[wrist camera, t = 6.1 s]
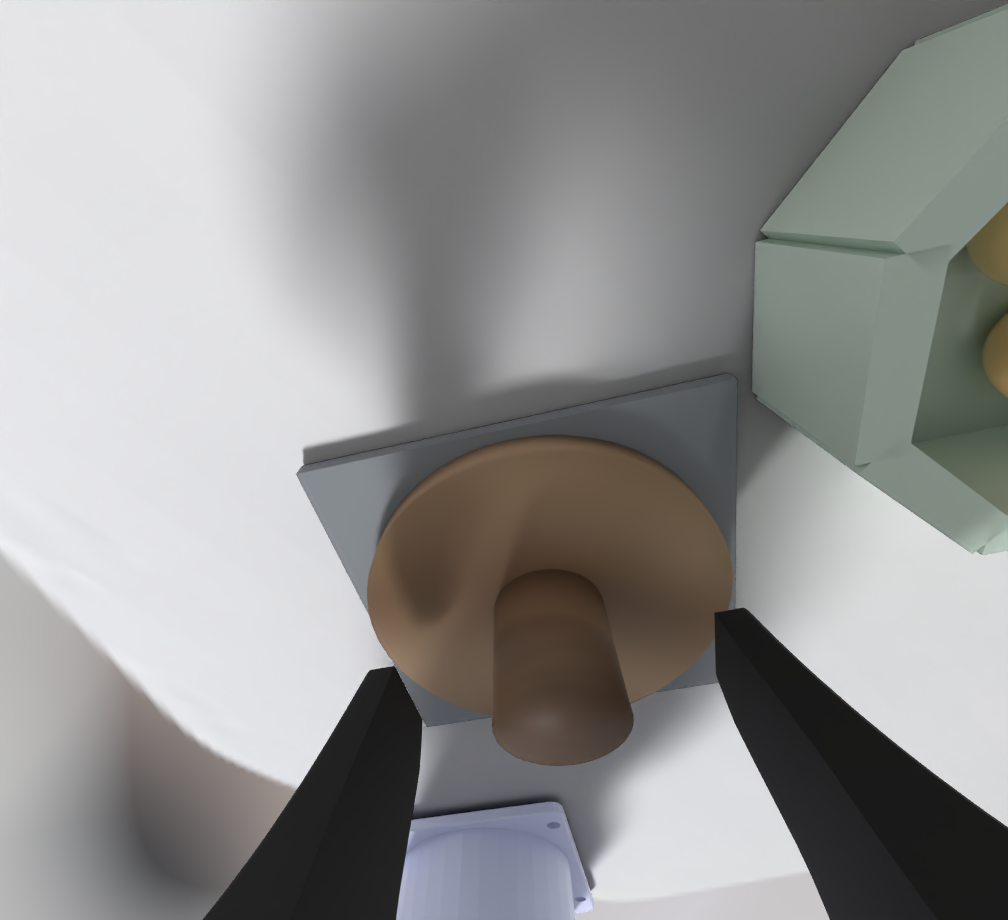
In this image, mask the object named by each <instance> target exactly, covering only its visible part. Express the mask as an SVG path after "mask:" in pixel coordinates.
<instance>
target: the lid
mask: <svg viewBox="0 0 1008 920" xmlns="http://www.w3.org/2000/svg"><path fill="white" fill-rule="evenodd" d="M732 586H733V571H732V561H731V557H730V553H729V550H728V547H727V543H726V541H725V539H724V537H723V535H722V533H721V531H720V529H719V527H718V525H717V523H716V522H715V520H714V519H713V517H712V516H711V515H710V513H709V512H708V510H707V509H706V507H705V506H704V504H703V503H702V502H701V500H700V499H699V498H698V496H697V495H696V494H695V492H694V491H693V490H692V488H691V487H689V486H688V485H687V484H686V483H685V482H684V481H683V480H682V479H681V478H680V477H679V476H678V475H677V474H676V473H674V472H673V471H671V470H670V469H668V468H667V467H666V466H664V465H663V464H661V463H660V462H658V461H657V460H655V459H653V458H651V457H649V456H647V455H645V454H643V453H641V452H639V451H637V450H634V449H631V448H628V447H625V446H622V445H619V444H616V443H613V442H609V441H604V440H599V439H594V438H589V437H581V436H568V435H545V436H530V437H524V438H517V439H511V440H506V441H502V442H499V443H495V444H492V445H488V446H485V447H481V448H479V449H476V450H474V451H472V452H469V453H467V454H464V455H462V456H460V457H457V458H456V459H454V460H452V461H450V462H449V463H447V464H445V465H444V466H442V467H440V468H438V469H437V470H435V471H434V472H433V473H431V474H430V475H429V476H428V477H426V478H425V479H424V480H422V481H421V482H420V483H419V484H417V485H416V486H415V487H414V488H413V489H412V491H411V492H410V493H409V494H408V495H407V496H406V497H405V498H404V499H403V500H402V501H401V503H400V504H399V505H398V507H397V508H396V510H395V511H394V512H393V514H392V515H391V517H390V518H389V520H388V522H387V525H386V527H385V529H384V531H383V533H382V535H381V537H380V540H379V543H378V546H377V548H376V551H375V554H374V557H373V561H372V564H371V567H370V571H369V575H368V584H367V602H368V611H369V615H370V619H371V623H372V626H373V629H374V631H375V633H376V635H377V638H378V640H379V642H380V643H381V645H382V647H383V648H384V650H385V651H386V653H387V654H388V656H389V657H390V658H391V659H392V660H393V662H394V663H395V664H396V665H397V666H398V667H399V669H400V670H402V671H403V672H404V673H405V674H406V675H407V676H408V677H409V678H411V679H412V680H413V681H414V682H416V683H417V684H418V685H420V686H421V687H423V688H424V689H426V690H427V691H429V692H431V693H432V694H434V695H436V696H438V697H440V698H442V699H443V700H446V701H448V702H450V703H453V704H455V705H457V706H460V707H462V708H466V709H469V710H472V711H475V712H478V713H482V714H487V715H491V716H492V729H493V734H494V737H495V738H496V740H497V742H498V743H499V744H500V746H501V747H502V748H503V749H505V750H506V751H507V752H509V753H510V754H512V755H513V756H515V757H517V758H520V759H522V760H525V761H528V762H531V763H536V764H541V765H551V766H565V765H575V764H580V763H585V762H589V761H592V760H595V759H598V758H600V757H602V756H605V755H607V754H608V753H610V752H612V751H613V750H615V749H616V748H618V747H619V746H620V745H621V744H622V743H623V742H624V741H625V740H626V739H627V737H628V736H629V734H630V732H631V730H632V727H633V713H632V709H631V705H630V703H633V702H635V701H638V700H640V699H642V698H644V697H646V696H648V695H650V694H652V693H654V692H656V691H657V690H659V689H661V688H662V687H664V686H666V685H667V684H669V683H670V682H672V681H673V680H674V679H676V678H677V677H678V676H680V675H681V674H682V673H684V672H685V671H686V670H687V669H688V668H689V667H690V666H691V665H692V664H693V663H695V662H696V661H697V660H698V659H699V658H700V656H701V655H702V654H703V653H704V652H705V650H706V649H707V648H708V647H709V646H710V644H711V643H712V641H713V640H714V638H715V619H714V613H715V612H721V611H727V610H728V608H729V604H730V600H731V597H732Z"/></svg>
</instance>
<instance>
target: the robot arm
mask: <svg viewBox="0 0 1008 920" xmlns="http://www.w3.org/2000/svg"><path fill="white" fill-rule="evenodd" d="M714 619H715V664H716V676H717V679H718V681H719V684H720V687H721V689H722V692H723V694H724V697H725V700H726V702H727V705H728V707H729V710H730V712H731V715H732V717H733V720H734V722H735V724H736V726H737V728H738V730H739V732H740V735H741V737H742V738H743V740H744V742H745V744H746V746H747V748H748V750H749V752H750V754H751V756H752V758H753V760H754V762H755V764H756V766H757V768H758V770H759V772H760V774H761V776H762V778H763V780H764V782H765V784H766V786H767V788H768V789H769V791H770V793H771V795H772V797H773V799H774V801H775V803H776V805H777V807H778V809H779V811H780V813H781V815H782V817H783V819H784V821H785V823H786V825H787V827H788V829H789V830H790V832H791V834H792V836H793V838H794V840H795V842H796V844H797V846H798V848H799V850H800V852H801V855H802V857H803V859H804V861H805V863H806V865H807V867H808V869H809V871H810V874H811V876H812V878H813V880H814V883H815V885H816V887H817V890H818V892H819V895H820V897H821V899H822V902H823V904H824V906H825V909H826V911H827V914H828V916H829V918H830V920H1008V827H1007V826H1005V825H1004V824H1002V823H1001V822H999V821H998V820H997V819H995V818H994V817H992V816H991V815H990V814H988V813H987V812H985V811H984V810H983V809H981V808H980V807H978V806H977V805H976V804H974V803H973V802H972V801H970V800H969V799H967V798H966V797H965V796H963V795H962V794H961V793H959V792H958V791H957V790H955V789H954V788H953V787H951V786H950V785H949V784H947V783H946V782H945V781H943V780H942V779H940V778H939V777H938V776H937V775H935V774H934V773H933V772H931V771H930V770H929V769H927V768H926V767H925V766H923V765H922V764H921V763H920V762H918V761H917V760H916V759H915V758H913V757H912V756H911V755H909V754H908V753H907V752H906V751H904V750H903V749H902V748H901V747H899V746H898V745H897V744H896V743H894V742H893V741H892V740H891V739H889V738H888V737H887V736H886V735H885V734H883V733H882V732H881V731H880V730H878V729H877V728H876V727H875V726H874V725H872V724H871V723H870V722H869V721H867V720H866V719H865V718H864V717H863V716H862V715H860V714H859V713H858V712H857V711H856V710H854V709H853V708H852V707H851V706H850V705H849V704H848V703H846V702H845V701H844V700H843V699H842V698H841V697H840V696H838V695H837V694H836V693H835V692H834V691H833V690H832V689H830V688H829V687H828V686H827V685H826V684H825V683H824V682H823V681H821V680H820V679H819V678H818V677H817V676H816V675H815V674H814V673H812V672H811V671H810V670H809V669H808V668H807V667H806V666H805V665H804V664H803V663H802V662H801V661H799V660H798V659H797V658H796V657H795V656H794V655H793V654H792V653H791V652H790V651H789V650H788V649H787V648H786V647H785V646H784V645H783V644H782V643H780V642H779V641H778V640H777V639H776V638H775V637H774V636H773V635H772V634H771V633H770V632H769V631H768V630H767V629H766V628H765V627H764V626H763V625H762V624H761V623H760V622H759V621H758V620H757V619H756V618H755V617H754V616H753V615H752V614H751V613H750V612H749V611H748V610H747V609H745V608H739V609H733V610H727V611H721V612H715V613H714ZM421 739H422V718H421V716H420V714H419V712H418V710H417V708H416V706H415V704H414V702H413V700H412V698H411V697H410V695H409V693H408V691H407V689H406V687H405V685H404V683H403V681H402V679H401V677H400V675H399V673H398V671H397V670H396V668H395V666H392V667H386V668H380V669H374V670H370V671H369V672H368V674H367V675H366V677H365V678H364V680H363V682H362V683H361V685H360V687H359V688H358V690H357V692H356V694H355V695H354V697H353V699H352V700H351V702H350V704H349V706H348V707H347V709H346V711H345V712H344V714H343V716H342V717H341V719H340V721H339V723H338V724H337V726H336V728H335V729H334V731H333V733H332V734H331V736H330V738H329V739H328V741H327V743H326V744H325V746H324V747H323V749H322V751H321V752H320V754H319V755H318V757H317V759H316V760H315V762H314V764H313V765H312V767H311V768H310V770H309V772H308V773H307V775H306V776H305V778H304V780H303V781H302V783H301V784H300V786H299V787H298V789H297V790H296V792H295V793H294V795H293V796H292V798H291V800H290V801H289V802H288V804H287V805H286V807H285V808H284V810H283V811H282V813H281V814H280V816H279V817H278V819H277V820H276V822H275V823H274V825H273V826H272V828H271V829H270V831H269V832H268V833H267V835H266V836H265V838H264V839H263V841H262V842H261V843H260V845H259V846H258V848H257V849H256V850H255V852H254V853H253V855H252V856H251V858H250V859H249V860H248V862H247V863H246V864H245V865H244V867H243V868H242V869H241V871H240V872H239V873H238V875H237V876H236V877H235V879H234V880H233V881H232V883H231V884H230V885H229V887H228V888H227V889H226V891H225V892H224V893H223V895H222V896H221V897H220V898H219V900H218V901H217V902H216V904H215V905H214V906H213V907H212V909H211V910H210V911H209V912H208V914H207V915H206V916H205V917H204V919H203V920H575V913H581V912H587V911H590V910H592V909H593V907H594V904H593V897H592V894H591V891H590V888H589V885H588V882H587V879H586V876H585V873H584V870H583V867H582V864H581V860H580V857H579V854H578V851H577V848H576V845H575V842H574V839H573V836H572V833H571V830H570V827H569V824H568V821H567V818H566V815H565V812H564V809H563V807H562V805H561V804H559V803H557V802H543V803H535V804H528V805H520V806H512V807H505V808H497V809H490V810H482V811H474V812H467V813H459V814H452V815H444V816H437V817H429V818H421V819H414V820H412V815H413V809H414V802H415V796H416V790H417V783H418V777H419V770H420V756H421Z"/></svg>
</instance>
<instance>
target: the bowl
mask: <svg viewBox="0 0 1008 920" xmlns="http://www.w3.org/2000/svg"><path fill="white" fill-rule="evenodd" d="M760 231H761V232H762V233H763V234H764V235H766V236H767V237H768V238H769V239H765V240H761V241H757V242H755V278H754V320H753V362H752V392H753V393H755V394H756V395H757V397H756V398H755V399H757V400H758V401H760V402H761V403H762V404H764V405H765V406H766V407H768V408H769V409H770V410H772V411H773V412H774V413H776V414H777V415H778V416H780V417H781V418H782V419H784V420H785V421H786V422H788V423H789V424H791V425H792V426H793V427H795V428H796V429H797V430H799V431H800V432H801V433H803V434H804V435H805V436H807V437H808V438H809V439H811V440H812V441H813V442H815V443H816V444H818V445H819V446H820V447H822V448H823V449H824V450H826V451H827V452H828V453H830V454H831V455H832V456H834V457H835V458H836V459H838V460H839V461H840V462H842V463H843V464H844V465H846V466H847V467H849V468H850V469H851V470H853V471H854V472H855V473H857V474H858V475H859V476H861V477H862V478H864V479H865V480H867V481H868V482H869V483H871V484H872V485H874V486H875V487H877V488H878V489H880V490H881V491H882V492H884V493H885V494H887V495H888V496H890V497H891V498H892V499H894V500H895V501H897V502H898V503H900V504H901V505H903V506H904V507H905V508H907V509H908V510H910V511H911V512H913V513H914V514H916V515H917V516H918V517H920V518H921V519H923V520H924V521H926V522H927V523H928V524H930V525H931V526H933V527H934V528H936V529H937V530H939V531H940V532H941V533H943V534H944V535H946V536H947V537H949V538H950V539H952V540H953V541H954V542H956V543H957V544H959V545H960V546H962V547H963V548H964V549H966V550H967V551H969V552H970V553H974V552H975V551H977V552H978V553H980V554H981V555H986V554H992V553H997V552H1003V551H1008V4H1006V5H1004V6H1001V7H999V8H996V9H994V10H991V11H989V12H986V13H984V14H981V15H979V16H976V17H974V18H971V19H969V20H966V21H964V22H961V23H959V24H956V25H954V26H951V27H949V28H946V29H944V30H941V31H939V32H936V33H934V34H932V35H929V36H927V37H924V38H922V39H919V40H917V41H915V45H914V46H912V47H909V48H907V49H904V50H902V51H901V53H900V54H899V55H898V56H897V58H896V59H895V60H894V61H893V63H892V64H891V65H890V66H889V68H888V69H887V70H886V71H885V73H884V74H883V75H882V77H881V78H880V79H879V80H878V82H877V83H876V84H875V85H874V87H873V88H872V89H871V90H870V92H869V93H868V94H867V96H866V97H865V98H864V99H863V101H862V102H861V103H860V104H859V106H858V107H857V108H856V109H855V111H854V112H853V113H852V114H851V116H850V117H849V118H848V120H847V121H846V122H845V123H844V125H843V126H842V127H841V128H840V130H839V131H838V132H837V133H836V135H835V136H834V137H833V138H832V140H831V141H830V142H829V144H828V145H827V146H826V147H825V149H824V150H823V151H822V152H821V154H820V155H819V156H818V157H817V159H816V160H815V161H814V162H813V164H812V165H811V166H810V168H809V169H808V170H807V171H806V173H805V174H804V175H803V176H802V178H801V179H800V180H799V181H798V183H797V184H796V185H795V187H794V188H793V189H792V190H791V192H790V193H789V194H788V195H787V197H786V198H785V199H784V200H783V202H782V203H781V204H780V205H779V207H778V208H777V209H776V211H775V212H774V213H773V214H772V216H771V217H770V218H769V219H768V221H767V222H766V223H765V224H764V226H763V227H762V228H761V229H760Z"/></svg>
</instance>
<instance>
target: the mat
mask: <svg viewBox="0 0 1008 920" xmlns="http://www.w3.org/2000/svg"><path fill="white" fill-rule="evenodd" d="M545 435H568V436H581V437H589V438H594V439H599V440H604V441H609V442H613V443H616V444H619V445H622V446H625V447H628V448H631V449H634V450H637V451H639V452H641V453H643V454H645V455H647V456H649V457H651V458H653V459H655V460H657V461H658V462H660V463H661V464H663V465H664V466H666V467H667V468H668V469H670V470H671V471H673V472H674V473H676V474H677V475H678V476H679V477H680V478H681V479H682V480H683V481H684V482H685V483H686V484H687V485H688V486H689V487H691V488H692V490H693V491H694V492H695V494H696V495H697V496H698V498H699V499H700V500H701V502H702V503H703V504H704V506H705V507H706V509H707V510H708V512H709V513H710V515H711V516H712V517H713V519H714V520H715V522H716V523H717V525H718V527H719V529H720V531H721V533H722V535H723V537H724V539H725V541H726V543H727V547H728V550H729V553H730V557H731V561H732V571H733V586H732V597H731V600H730V604H729V608H728V610H733V609H735V581H736V453H737V379H736V378H735V377H734V376H732V375H731V374H729V373H727V374H722V375H718V376H713V377H709V378H704V379H699V380H695V381H690V382H686V383H681V384H676V385H672V386H667V387H663V388H658V389H653V390H649V391H644V392H640V393H635V394H630V395H626V396H621V397H617V398H612V399H607V400H603V401H598V402H594V403H589V404H584V405H580V406H575V407H571V408H566V409H561V410H557V411H552V412H548V413H543V414H538V415H534V416H529V417H525V418H520V419H515V420H511V421H506V422H502V423H497V424H492V425H488V426H483V427H479V428H474V429H469V430H465V431H460V432H456V433H451V434H446V435H442V436H437V437H433V438H428V439H423V440H419V441H414V442H410V443H405V444H400V445H396V446H391V447H387V448H382V449H377V450H373V451H368V452H364V453H359V454H354V455H350V456H345V457H341V458H336V459H331V460H327V461H322V462H318V463H313V464H308V465H304V466H302V467H301V468H300V470H299V471H298V472H297V474H296V475H297V477H298V479H299V481H300V483H301V485H302V487H303V489H304V490H305V492H306V494H307V496H308V498H309V500H310V502H311V504H312V506H313V508H314V510H315V512H316V514H317V516H318V517H319V519H320V521H321V523H322V525H323V527H324V529H325V531H326V533H327V535H328V537H329V539H330V541H331V543H332V545H333V546H334V548H335V550H336V552H337V554H338V556H339V558H340V560H341V562H342V564H343V566H344V568H345V570H346V572H347V574H348V575H349V577H350V579H351V581H352V583H353V585H354V587H355V589H356V591H357V593H358V595H359V597H360V599H361V601H362V603H363V604H364V606H365V608H366V610H367V612H368V614H369V611H368V602H367V584H368V575H369V571H370V567H371V564H372V561H373V557H374V554H375V551H376V548H377V546H378V543H379V540H380V537H381V535H382V533H383V531H384V529H385V527H386V525H387V522H388V520H389V518H390V517H391V515H392V514H393V512H394V511H395V510H396V508H397V507H398V505H399V504H400V503H401V501H402V500H403V499H404V498H405V497H406V496H407V495H408V494H409V493H410V492H411V491H412V489H413V488H414V487H415V486H416V485H417V484H419V483H420V482H421V481H422V480H424V479H425V478H426V477H428V476H429V475H430V474H431V473H433V472H434V471H435V470H437V469H438V468H440V467H442V466H444V465H445V464H447V463H449V462H450V461H452V460H454V459H456V458H457V457H460V456H462V455H464V454H467V453H469V452H472V451H474V450H476V449H479V448H481V447H485V446H488V445H492V444H495V443H499V442H502V441H506V440H511V439H517V438H524V437H530V436H545ZM369 616H370V615H369ZM394 664H395V663H394ZM395 666H396V668H397V670H398V672H399V674H400V676H401V678H402V680H403V682H404V684H405V686H406V688H407V689H408V691H409V693H410V695H411V697H412V699H413V701H414V703H415V705H416V707H417V709H418V711H419V713H420V715H421V717H422V718H423V720H424V722H425V724H426V726H427V727H431V726H437V725H444V724H450V723H457V722H463V721H470V720H476V719H483V718H490V717H492V716H491V715H487V714H482V713H478V712H475V711H472V710H469V709H466V708H462V707H460V706H457V705H455V704H453V703H450V702H448V701H446V700H443V699H442V698H440V697H438V696H436V695H434V694H432V693H431V692H429V691H427V690H426V689H424V688H423V687H421V686H420V685H418V684H417V683H416V682H414V681H413V680H412V679H411V678H409V677H408V676H407V675H406V674H405V673H404V672H403V671H402V670H400V669H399V667H398V666H397V665H396V664H395ZM713 683H719V681H718V679H717V676H716V664H715V638H714V640H713V641H712V643H711V644H710V646H709V647H708V648H707V649H706V650H705V652H704V653H703V654H702V655H701V656H700V658H699V659H698V660H697V661H696V662H695V663H693V664H692V665H691V666H690V667H689V668H688V669H687V670H686V671H685V672H684V673H682V674H681V675H680V676H678V677H677V678H676V679H674V680H673V681H672V682H670V683H669V684H667V685H666V686H664V687H662V688H661V689H659V690H657V691H656V692H660V691H667V690H673V689H680V688H686V687H693V686H700V685H706V684H713Z"/></svg>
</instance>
